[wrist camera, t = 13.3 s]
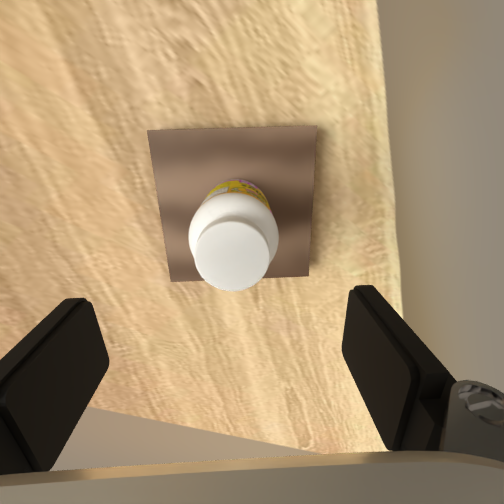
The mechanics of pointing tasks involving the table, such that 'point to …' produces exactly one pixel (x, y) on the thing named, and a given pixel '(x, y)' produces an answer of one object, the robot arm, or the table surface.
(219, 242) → the supplement bottle
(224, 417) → the table surface
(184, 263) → the block
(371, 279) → the table surface
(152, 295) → the table surface
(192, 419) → the table surface
